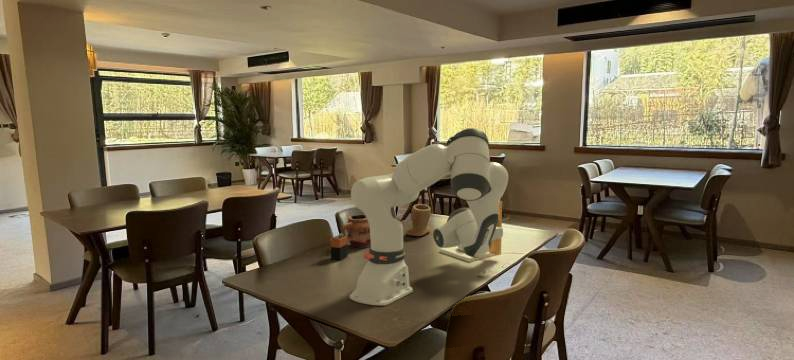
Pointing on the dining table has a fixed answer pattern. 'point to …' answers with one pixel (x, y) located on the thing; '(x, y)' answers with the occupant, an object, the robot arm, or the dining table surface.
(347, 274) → the dining table surface
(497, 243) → the orange post with disc
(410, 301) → the dining table surface
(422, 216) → the stone cup
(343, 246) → the battery
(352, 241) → the decorative planter
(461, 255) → the base plate
